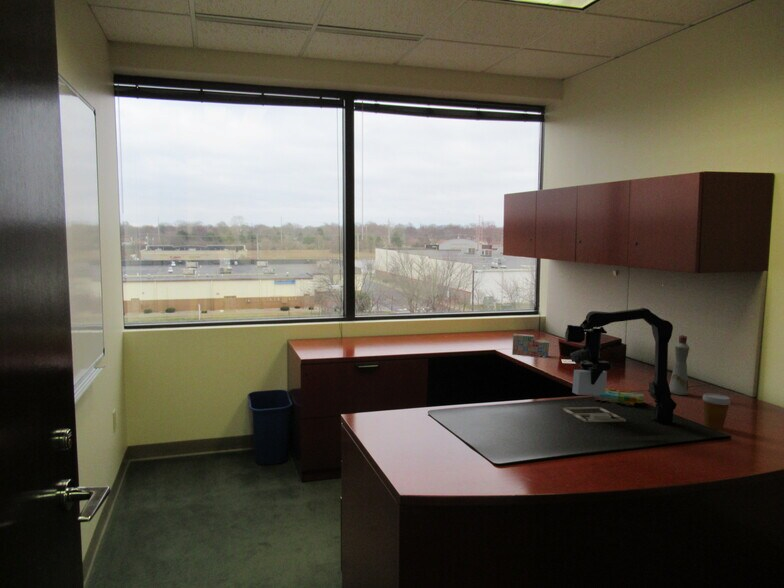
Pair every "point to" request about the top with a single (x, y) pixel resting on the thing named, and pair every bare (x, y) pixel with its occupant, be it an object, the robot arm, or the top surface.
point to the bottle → (680, 368)
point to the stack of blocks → (529, 346)
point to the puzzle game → (620, 396)
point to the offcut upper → (599, 416)
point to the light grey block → (588, 383)
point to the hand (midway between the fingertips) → (589, 383)
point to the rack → (594, 413)
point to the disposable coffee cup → (715, 410)
